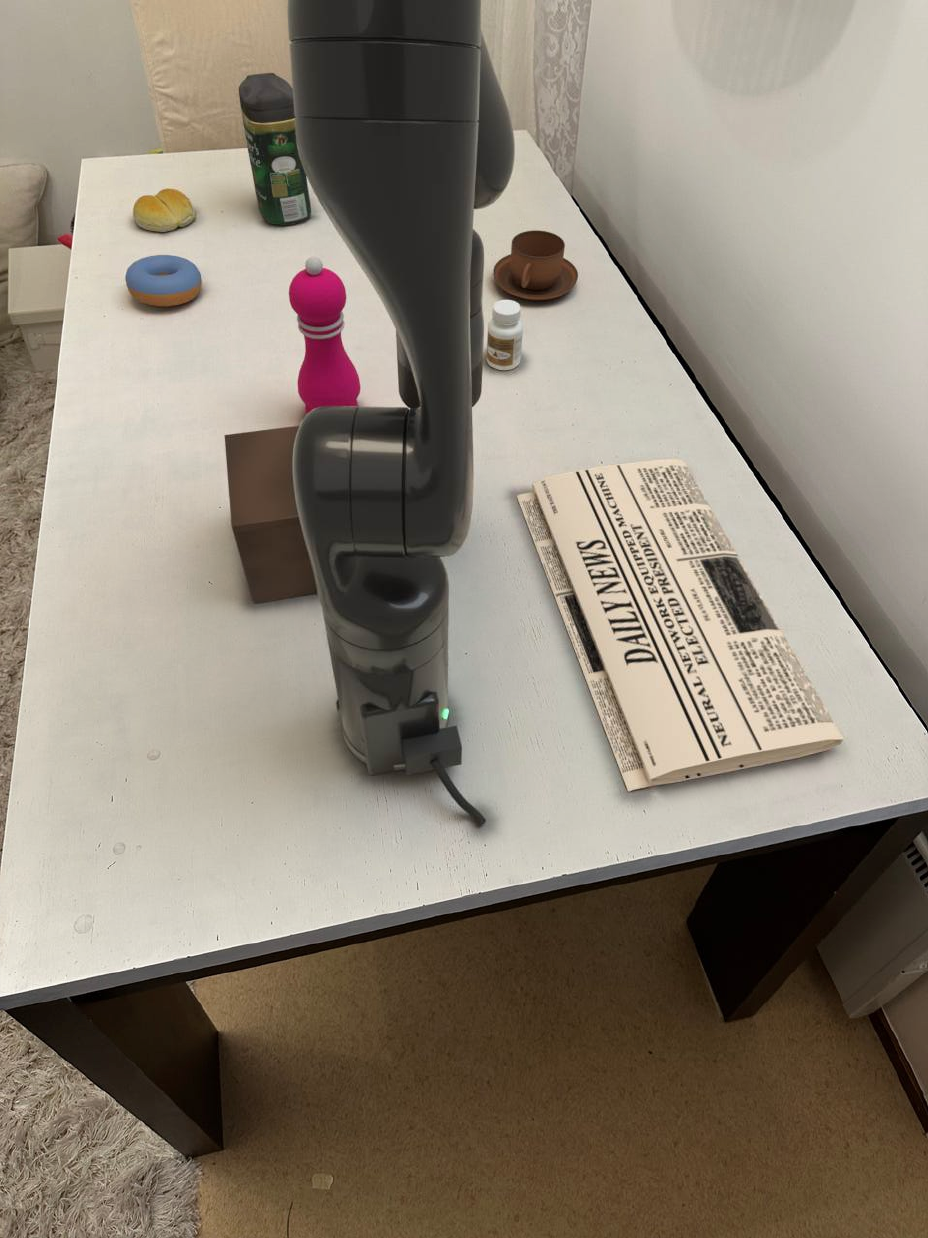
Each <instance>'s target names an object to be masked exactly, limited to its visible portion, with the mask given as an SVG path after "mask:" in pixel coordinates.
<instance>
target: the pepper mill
mask: <svg viewBox="0 0 928 1238" xmlns="http://www.w3.org/2000/svg"><path fill="white" fill-rule="evenodd" d="M304 267H305V268H304V269H302V270H300V271H299V272H298V273H296V274H295V275H294V276H293V278H292V279H291V282H290V284H289V288H288V298H289V299H288V300H289V304H290V307H291V308H292V310H293V311H294V312H295V314H297V316H296V321H297V329H298V330H299V332H300V333H301V334H302V335H303V338H304V346H305V347H304V349H305V350H304V351H305V352H304V358H303V361H302V363H301V365H300V368H299V371H298V377H297V393H298V396H299V398H300V400H301V401H302V403H303V404H304V411H305V416H306V415H307V414H308V413H309V412H310V411H312V410H313V409H315V408H318V407H323V406H359V402H358V400H357V399H358V398H359V395H360V394H361V382H360V376H359V373H358V371H357V369H356V367H355V364H354V363H353V362H352V360H351V358H350V356H349V355H348V352H347V351H346V349H345V347H344V343H343V337H342V331H343V330H344V328H345V320H344V318H345V315H344V312H343V310H344V309H345V306H346V302H347V291H346V286H345V285H344V282H343V279H341V278H340V276H339V275H338V274H337V273H336V272H335V271H333V270H331V269H329V268H326V267H324V265H323V262H322V260H321V259H320V258H319V257H317V256H310V257H308V258H307V259H306V260H305V263H304Z"/></svg>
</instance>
